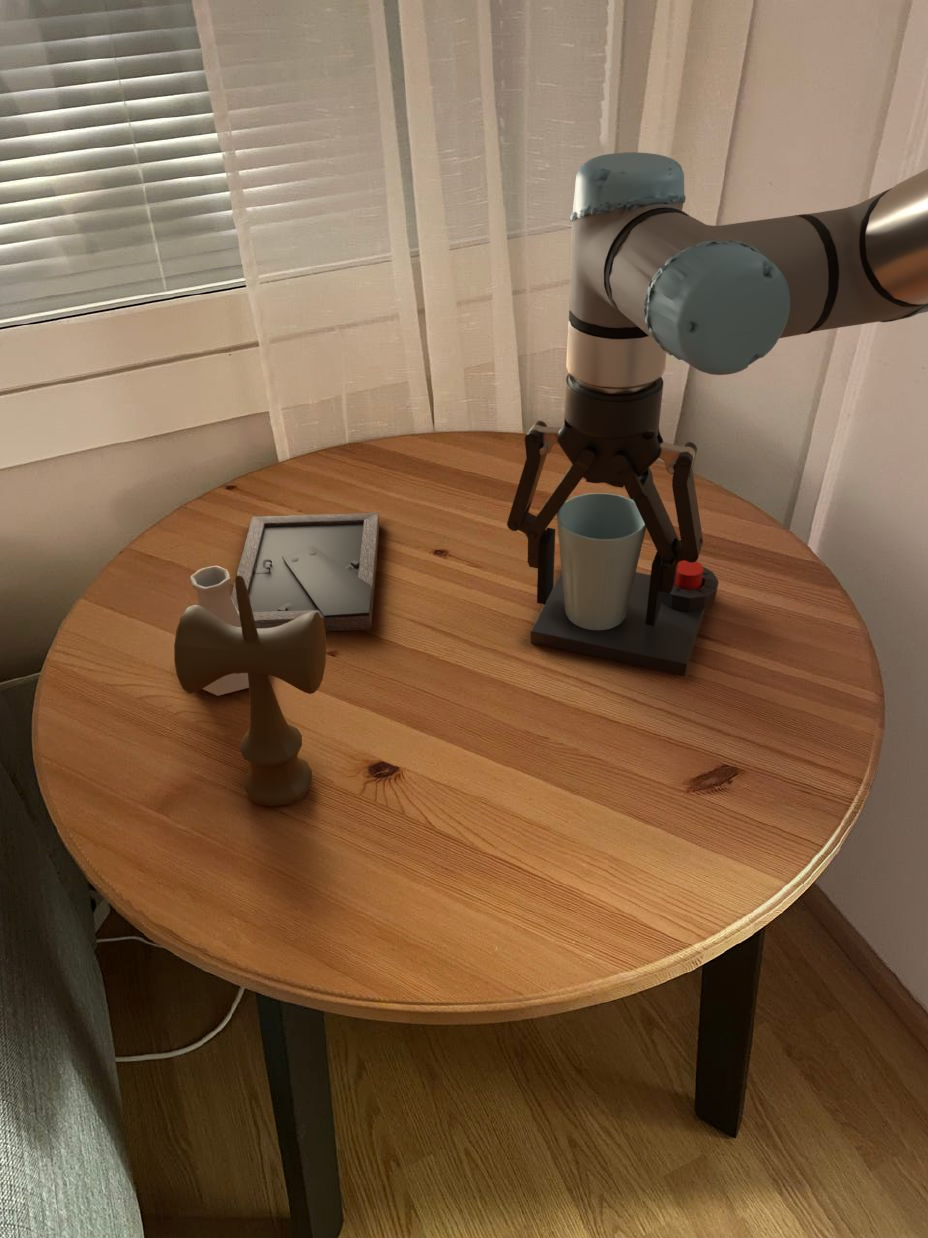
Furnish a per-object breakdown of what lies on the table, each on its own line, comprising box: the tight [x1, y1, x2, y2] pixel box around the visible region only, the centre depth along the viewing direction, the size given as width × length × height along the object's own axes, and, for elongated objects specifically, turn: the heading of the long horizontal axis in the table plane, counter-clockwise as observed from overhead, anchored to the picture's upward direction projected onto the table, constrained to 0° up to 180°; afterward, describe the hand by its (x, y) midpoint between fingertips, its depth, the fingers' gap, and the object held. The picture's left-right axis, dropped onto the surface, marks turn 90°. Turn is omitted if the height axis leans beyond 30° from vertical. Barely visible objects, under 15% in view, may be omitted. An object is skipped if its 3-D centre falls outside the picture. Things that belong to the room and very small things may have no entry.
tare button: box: [674, 560, 704, 590], centre depth 92 cm, size 3×3×2 cm
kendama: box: [173, 574, 327, 807], centre depth 71 cm, size 6×10×20 cm, turn 86°
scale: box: [530, 566, 719, 676], centre depth 92 cm, size 15×13×3 cm
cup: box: [556, 492, 647, 630], centre depth 89 cm, size 8×8×10 cm
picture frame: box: [230, 512, 380, 632], centre depth 99 cm, size 13×2×18 cm
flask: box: [190, 565, 249, 697], centre depth 86 cm, size 7×7×10 cm
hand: (598, 605), depth 91 cm, fingers open, 9 cm apart
